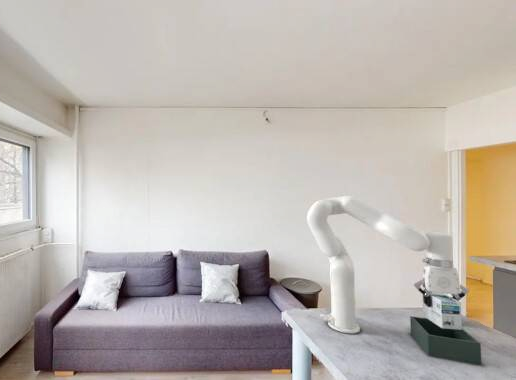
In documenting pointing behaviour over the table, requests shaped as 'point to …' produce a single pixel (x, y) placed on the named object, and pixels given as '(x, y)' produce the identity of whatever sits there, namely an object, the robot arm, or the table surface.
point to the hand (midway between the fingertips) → (441, 306)
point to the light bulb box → (443, 311)
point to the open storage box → (445, 341)
